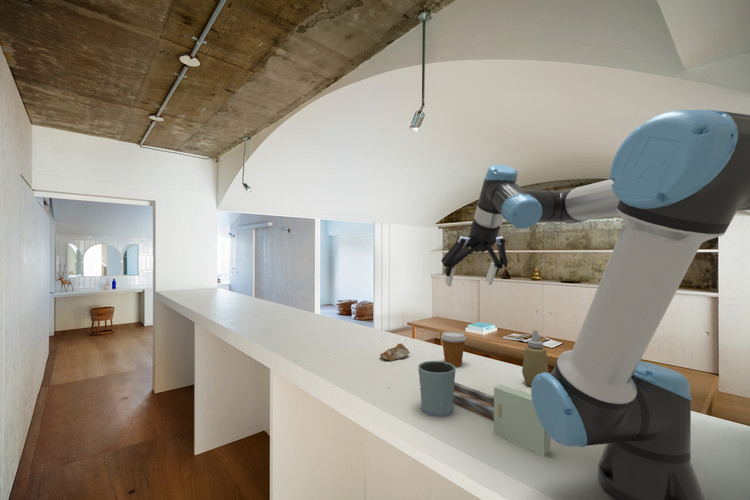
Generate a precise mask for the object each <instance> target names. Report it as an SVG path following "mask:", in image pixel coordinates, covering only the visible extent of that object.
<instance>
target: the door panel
mask: <svg viewBox="0 0 750 500" xmlns="http://www.w3.org/2000/svg"><path fill="white" fill-rule="evenodd" d="M493 396H494V420H493V433H494V434H495V435H498V436H500V437H501V438H503V439H505V440H508V441H511V442H513V443H515V444H517V445H519V446H521V447H523V448H526V449H528V450H530V451H532V452H534V453H536V454H538V455H541V456H543V457H545V456H547V455H548V454H549V453H550V452H551V450H552V449H551V448H552V447H551V445H552V444H551V443H552V441H551V439H552V438H551V437H550V436H549V435H548V433H547V432H546V431H545V429H544V428H543V426H542V425H541V423H540V421H539V419H538V417H537V414H536V412H535V409H534V405H533V401H532V395H531V393H528V392H525V391H522V390H518V389H515V388H512V387H509V386H507V385H503V384H499V385H497V386H495V387H493Z"/></svg>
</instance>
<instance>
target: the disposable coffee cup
mask: <svg viewBox="0 0 750 500" xmlns="http://www.w3.org/2000/svg"><path fill="white" fill-rule="evenodd" d="M440 337H441V340H442V350H443V356H444V362H447V363H450V364H452V365H454V366H455V368H460V367H462V362H463V357H464V349H465V341H466V339H467V338H466V336H465V333H464V332H458V331H443V332H442V333H441V336H440Z"/></svg>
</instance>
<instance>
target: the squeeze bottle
mask: <svg viewBox="0 0 750 500" xmlns="http://www.w3.org/2000/svg"><path fill="white" fill-rule="evenodd" d="M521 370H522V371H521V373H522V377H523V379H524V382H525V384H526V385H527V386H529V387H532V382H533V379H534V378H535V376H537V375H538V374H542V373H544V372H547V373H550V372H549V364H548V355H547V350H546V349H545V348H544V342H543V341H541V340H540V338H539V333H538V330H536V329H535V330H533V331H532V335H531V338H530V339H529V340H527V346H525V347H524V351H523V361H522V369H521Z"/></svg>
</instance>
